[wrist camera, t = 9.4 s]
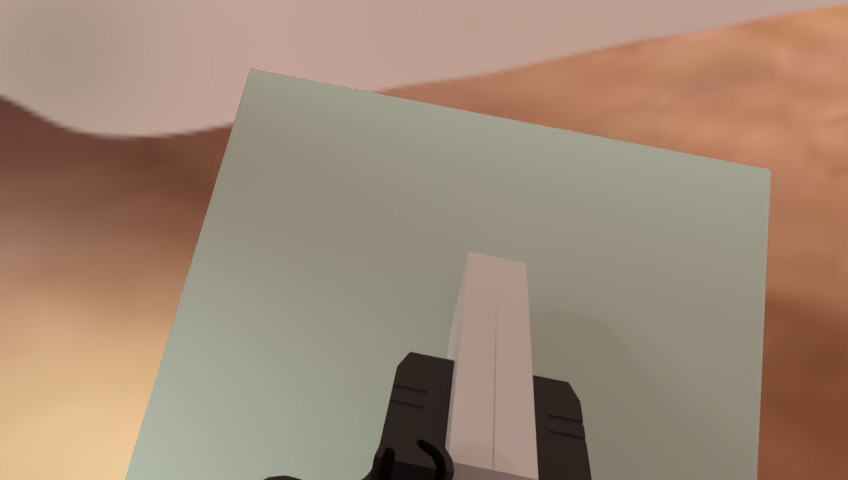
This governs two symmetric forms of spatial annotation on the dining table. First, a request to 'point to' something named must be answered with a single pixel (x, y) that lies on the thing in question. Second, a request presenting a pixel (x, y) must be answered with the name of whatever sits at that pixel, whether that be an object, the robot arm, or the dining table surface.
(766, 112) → the dining table surface
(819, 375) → the dining table surface
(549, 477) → the robot arm
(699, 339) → the lid
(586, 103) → the dining table surface
